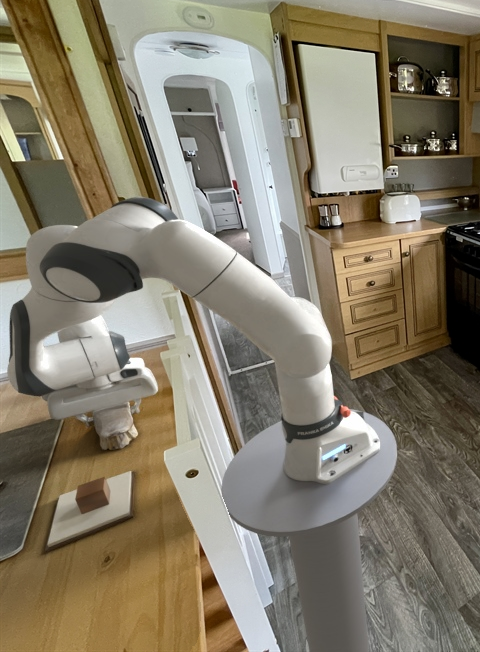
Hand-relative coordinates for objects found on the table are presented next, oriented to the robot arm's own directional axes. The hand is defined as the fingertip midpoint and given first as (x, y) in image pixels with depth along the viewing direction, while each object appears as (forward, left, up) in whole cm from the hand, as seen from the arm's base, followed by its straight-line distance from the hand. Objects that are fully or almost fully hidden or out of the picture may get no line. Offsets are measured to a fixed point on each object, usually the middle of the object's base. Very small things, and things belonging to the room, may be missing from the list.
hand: (114, 418), depth 98 cm
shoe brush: (0, 0, -2) cm, 2 cm away
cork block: (+1, +30, -1) cm, 30 cm away
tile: (+2, +30, -2) cm, 30 cm away
